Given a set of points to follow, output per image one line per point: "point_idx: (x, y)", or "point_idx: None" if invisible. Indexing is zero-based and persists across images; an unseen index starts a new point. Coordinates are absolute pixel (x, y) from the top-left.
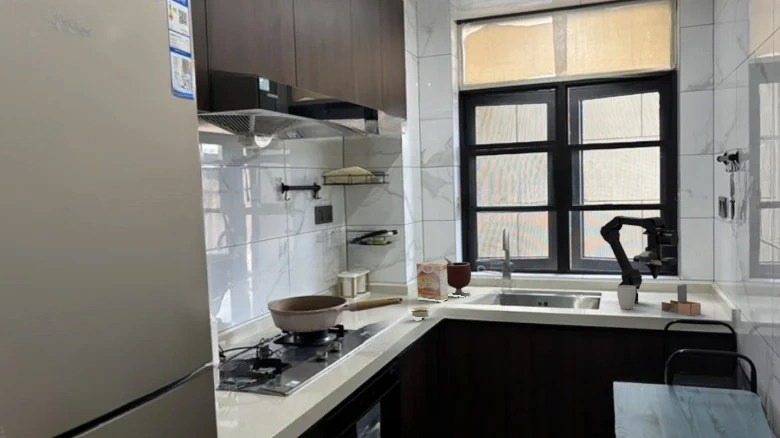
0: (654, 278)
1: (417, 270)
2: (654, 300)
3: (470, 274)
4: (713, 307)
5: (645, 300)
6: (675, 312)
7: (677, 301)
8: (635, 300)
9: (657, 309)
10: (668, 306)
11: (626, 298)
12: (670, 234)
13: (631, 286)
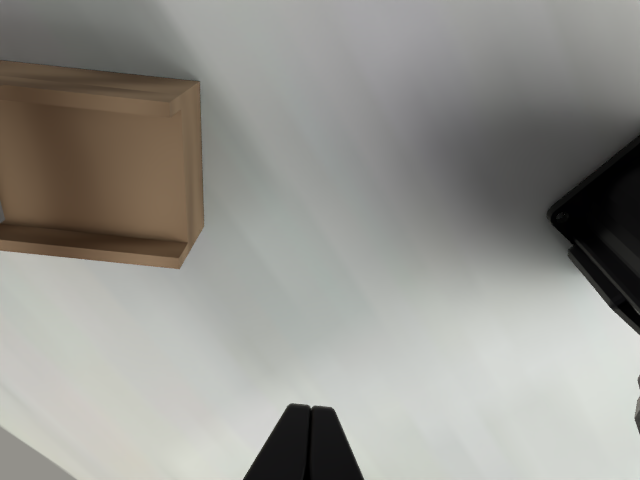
0: (297, 408)
1: None
2: (474, 392)
3: None
4: (37, 414)
5: (539, 358)
6: (29, 65)
7: (88, 248)
8: (593, 230)
9: (255, 91)
10: (86, 82)
11: None
12: None
13: None
